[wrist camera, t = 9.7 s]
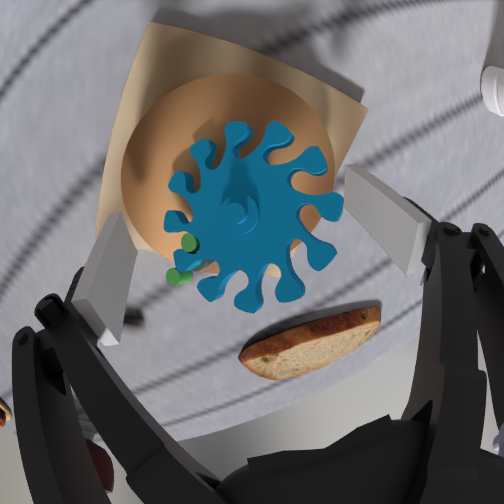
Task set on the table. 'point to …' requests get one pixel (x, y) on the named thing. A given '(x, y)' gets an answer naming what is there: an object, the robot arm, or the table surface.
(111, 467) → the mate gourd
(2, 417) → the wooden plate with food
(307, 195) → the gear
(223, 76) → the bread on wooden board
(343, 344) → the slice of bread
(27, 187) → the table surface
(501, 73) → the water bottle
